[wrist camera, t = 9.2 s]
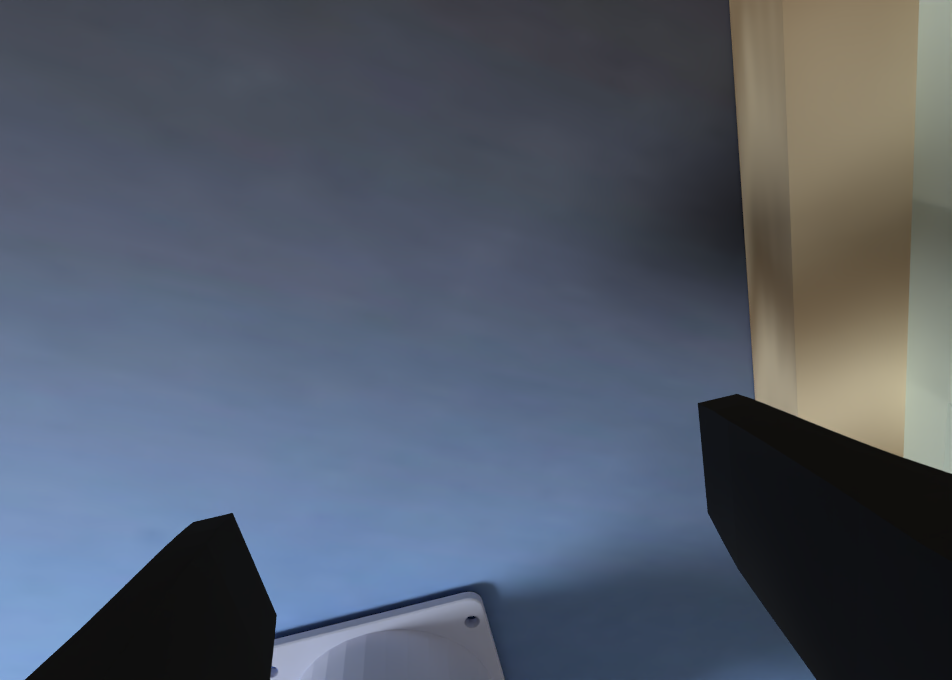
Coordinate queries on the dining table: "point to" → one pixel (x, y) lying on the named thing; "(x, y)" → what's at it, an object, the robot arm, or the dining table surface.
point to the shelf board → (828, 205)
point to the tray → (931, 248)
